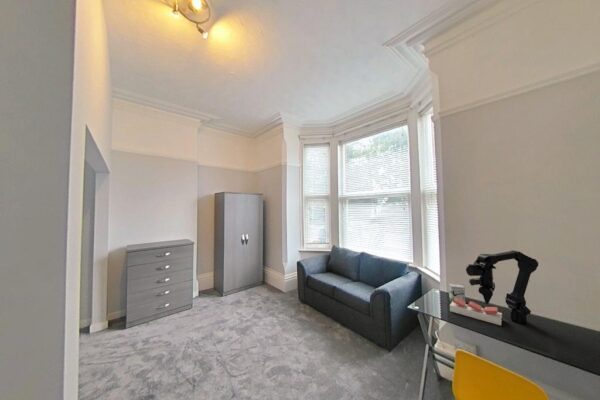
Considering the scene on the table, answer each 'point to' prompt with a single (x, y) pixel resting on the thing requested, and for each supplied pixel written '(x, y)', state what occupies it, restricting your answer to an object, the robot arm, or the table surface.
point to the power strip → (477, 313)
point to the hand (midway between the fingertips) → (487, 301)
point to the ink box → (456, 292)
